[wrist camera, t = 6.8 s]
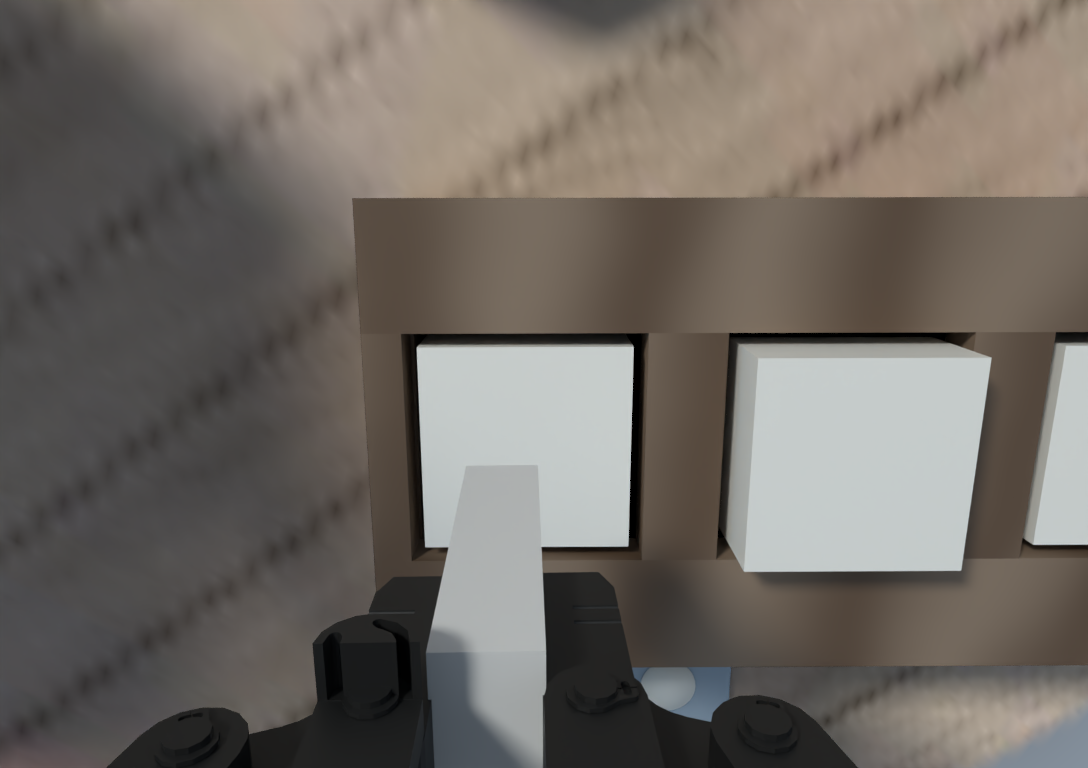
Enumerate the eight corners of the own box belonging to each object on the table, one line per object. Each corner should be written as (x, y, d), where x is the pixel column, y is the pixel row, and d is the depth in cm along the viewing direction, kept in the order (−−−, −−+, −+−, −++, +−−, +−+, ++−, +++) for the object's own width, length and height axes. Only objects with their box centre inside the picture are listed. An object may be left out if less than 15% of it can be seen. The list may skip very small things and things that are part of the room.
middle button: (718, 525, 24) (743, 571, 21) (729, 337, 22) (758, 358, 19) (909, 525, 24) (960, 570, 21) (932, 336, 22) (991, 357, 19)
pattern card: (435, 753, 31) (433, 762, 31) (429, 602, 30) (427, 609, 29) (722, 752, 31) (725, 760, 31) (732, 601, 30) (735, 607, 29)
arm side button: (438, 507, 25) (425, 547, 22) (431, 329, 24) (416, 347, 21) (618, 506, 25) (628, 546, 22) (622, 328, 24) (634, 347, 21)
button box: (414, 567, 29) (381, 668, 23) (397, 198, 26) (352, 198, 20) (1103, 564, 30) (1257, 664, 23) (1174, 197, 26) (1375, 196, 20)
